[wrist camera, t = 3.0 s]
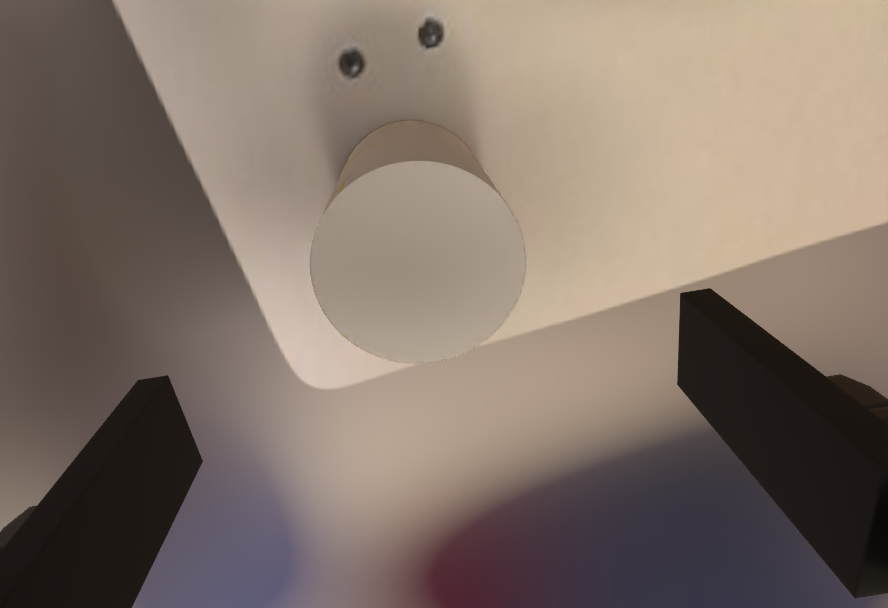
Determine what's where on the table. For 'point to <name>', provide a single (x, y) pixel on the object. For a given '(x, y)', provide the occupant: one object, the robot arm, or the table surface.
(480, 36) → the table surface
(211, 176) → the table surface
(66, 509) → the robot arm
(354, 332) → the white patterned cylinder
